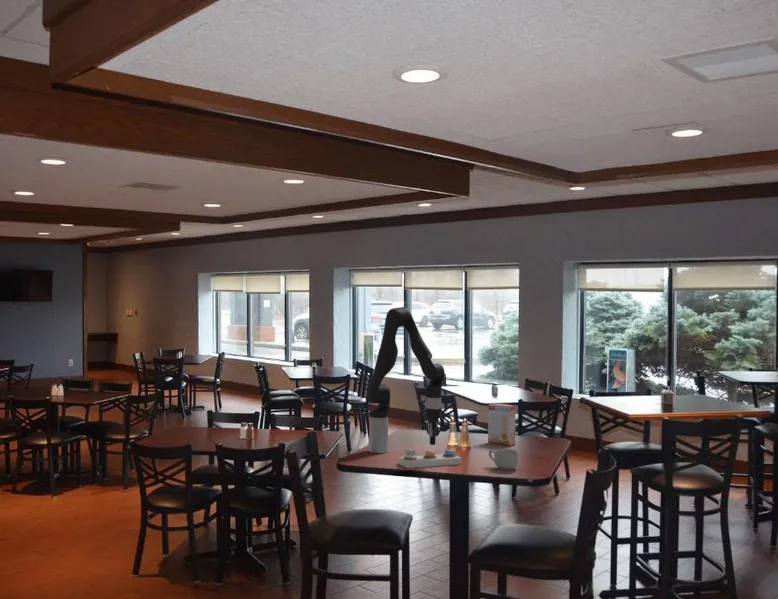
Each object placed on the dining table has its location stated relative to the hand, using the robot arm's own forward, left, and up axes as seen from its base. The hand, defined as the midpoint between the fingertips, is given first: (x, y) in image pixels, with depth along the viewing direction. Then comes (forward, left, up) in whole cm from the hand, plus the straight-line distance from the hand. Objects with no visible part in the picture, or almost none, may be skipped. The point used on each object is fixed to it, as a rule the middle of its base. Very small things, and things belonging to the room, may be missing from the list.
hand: (432, 444), depth 345 cm
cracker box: (-34, +58, -9) cm, 68 cm away
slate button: (+1, +9, -5) cm, 10 cm away
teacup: (+19, +27, -9) cm, 34 cm away
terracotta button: (+1, -1, -5) cm, 5 cm away
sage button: (+1, -11, -4) cm, 12 cm away
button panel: (+1, -1, -9) cm, 9 cm away
